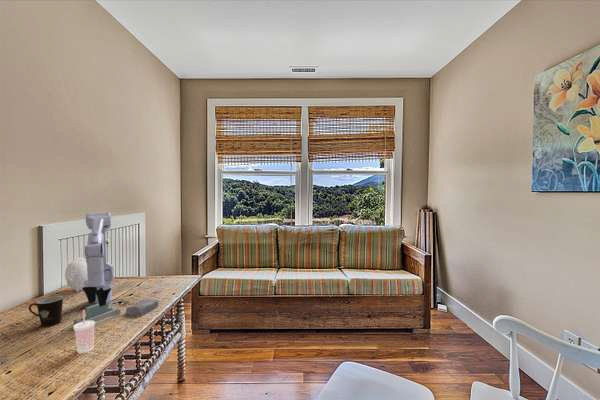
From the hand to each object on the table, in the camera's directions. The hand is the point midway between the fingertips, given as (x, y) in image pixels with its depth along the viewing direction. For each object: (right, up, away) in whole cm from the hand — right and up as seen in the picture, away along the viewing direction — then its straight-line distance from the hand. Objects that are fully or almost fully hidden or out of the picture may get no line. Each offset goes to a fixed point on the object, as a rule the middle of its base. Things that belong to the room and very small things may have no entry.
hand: (97, 304), depth 130 cm
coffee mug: (-19, -8, -1) cm, 21 cm away
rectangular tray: (0, -7, 0) cm, 7 cm away
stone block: (+13, -7, +11) cm, 18 cm away
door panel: (0, -6, 0) cm, 6 cm away
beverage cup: (+11, -8, -23) cm, 27 cm away
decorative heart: (-35, -6, +39) cm, 53 cm away
